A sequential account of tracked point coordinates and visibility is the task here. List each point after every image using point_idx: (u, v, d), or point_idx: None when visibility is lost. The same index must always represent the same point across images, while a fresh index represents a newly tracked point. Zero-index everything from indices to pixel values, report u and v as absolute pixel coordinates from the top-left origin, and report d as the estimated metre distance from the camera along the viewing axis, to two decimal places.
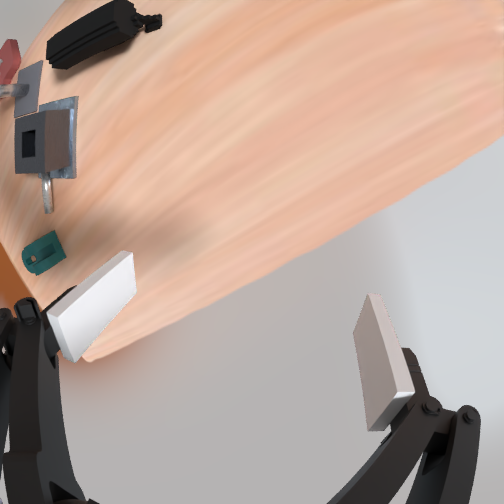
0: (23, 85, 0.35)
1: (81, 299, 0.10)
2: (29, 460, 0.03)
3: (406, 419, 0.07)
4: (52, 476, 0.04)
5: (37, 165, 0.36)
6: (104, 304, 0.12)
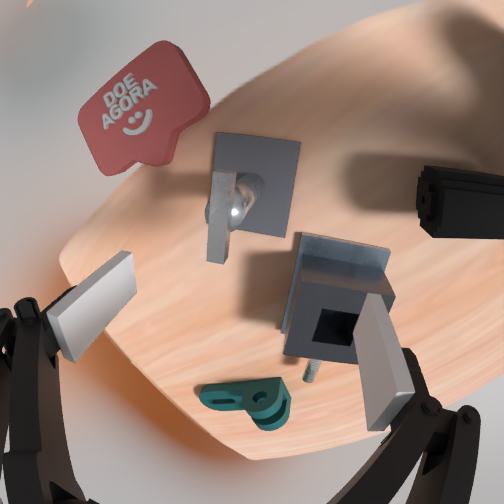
0: (260, 182, 0.31)
1: (81, 299, 0.10)
2: (29, 460, 0.03)
3: (406, 419, 0.07)
4: (52, 476, 0.04)
5: (350, 356, 0.32)
6: (104, 304, 0.12)
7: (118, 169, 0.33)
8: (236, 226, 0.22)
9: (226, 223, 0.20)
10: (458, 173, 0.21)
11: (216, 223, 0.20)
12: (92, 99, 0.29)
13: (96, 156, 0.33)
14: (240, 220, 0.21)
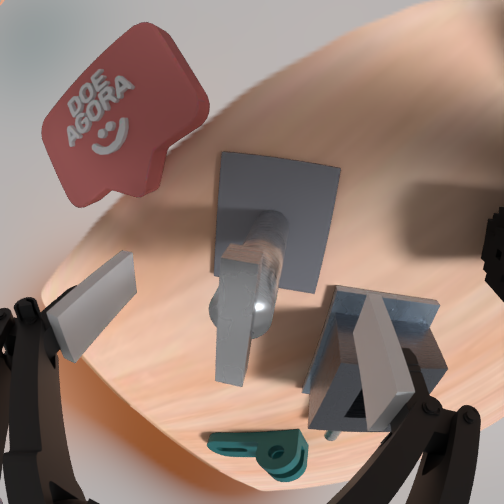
0: (285, 226, 0.22)
1: (81, 299, 0.10)
2: (29, 460, 0.03)
3: (406, 419, 0.07)
4: (52, 476, 0.04)
5: None
6: (104, 304, 0.12)
7: (90, 199, 0.24)
8: (261, 332, 0.13)
9: (247, 339, 0.12)
10: None
11: (229, 339, 0.12)
12: (56, 107, 0.21)
13: (63, 181, 0.24)
14: (268, 324, 0.13)
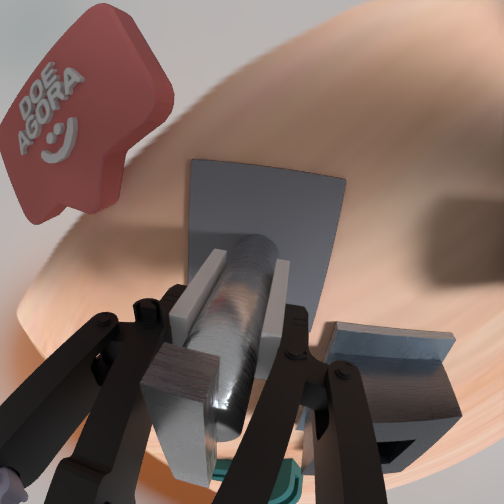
0: (273, 258, 0.17)
1: (200, 297, 0.12)
2: (91, 479, 0.04)
3: (272, 369, 0.09)
4: (110, 496, 0.04)
5: (387, 469, 0.18)
6: None
7: (44, 216, 0.19)
8: (229, 438, 0.08)
9: (204, 461, 0.06)
10: None
11: (181, 457, 0.07)
12: (10, 110, 0.15)
13: (19, 195, 0.19)
14: (238, 433, 0.08)
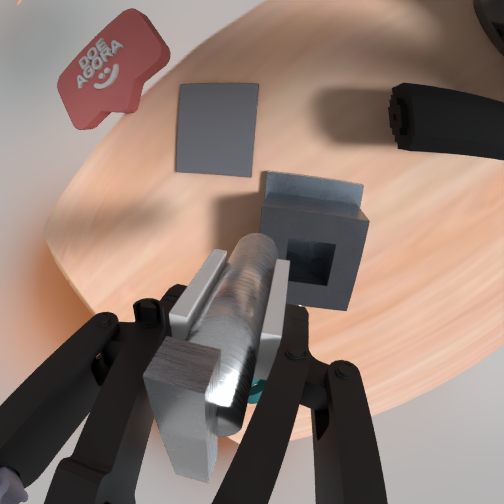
0: (273, 256, 0.17)
1: (200, 297, 0.12)
2: (91, 479, 0.04)
3: (272, 369, 0.09)
4: (110, 496, 0.04)
5: (329, 299, 0.31)
6: None
7: (89, 121, 0.32)
8: (230, 433, 0.08)
9: (205, 455, 0.07)
10: (425, 86, 0.19)
11: (182, 451, 0.07)
12: (70, 66, 0.28)
13: (71, 114, 0.31)
14: (238, 427, 0.08)
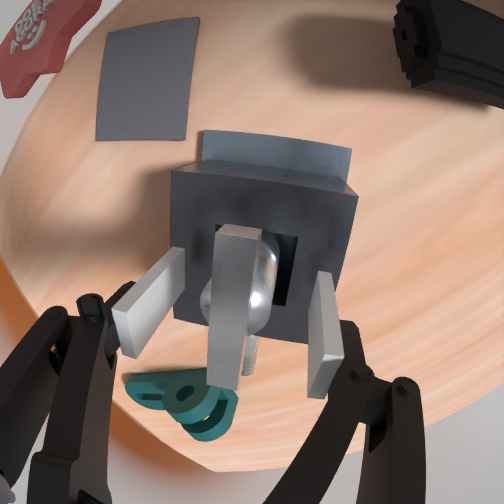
0: None
1: (145, 294, 0.12)
2: (62, 467, 0.04)
3: (335, 387, 0.08)
4: (83, 484, 0.04)
5: (289, 326, 0.19)
6: (162, 299, 0.14)
7: (15, 87, 0.19)
8: (258, 327, 0.12)
9: (243, 332, 0.10)
10: None
11: (223, 332, 0.10)
12: (9, 33, 0.16)
13: (2, 82, 0.19)
14: (266, 318, 0.12)
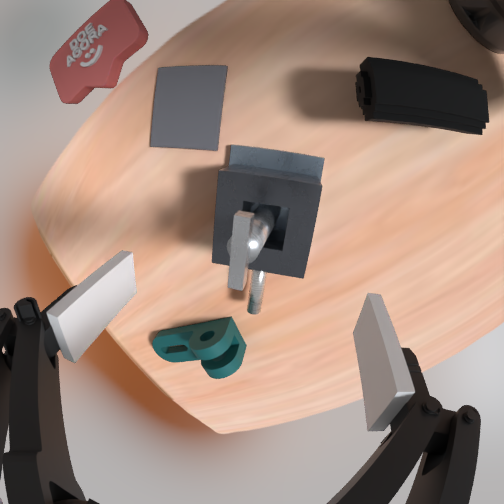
0: (277, 209, 0.35)
1: (81, 299, 0.10)
2: (29, 460, 0.03)
3: (406, 419, 0.07)
4: (52, 476, 0.04)
5: (285, 264, 0.32)
6: (104, 304, 0.12)
7: (74, 95, 0.32)
8: (253, 259, 0.25)
9: (245, 258, 0.24)
10: (389, 60, 0.21)
11: (236, 258, 0.24)
12: (61, 47, 0.28)
13: (59, 89, 0.31)
14: (257, 254, 0.25)
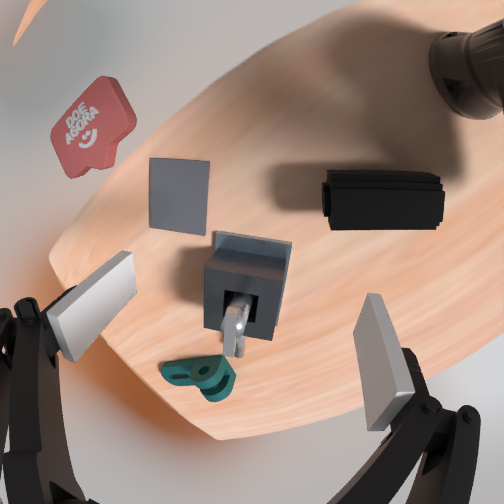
0: None
1: (81, 299, 0.10)
2: (29, 460, 0.03)
3: (406, 419, 0.07)
4: (52, 476, 0.04)
5: (257, 331, 0.42)
6: (104, 304, 0.12)
7: (77, 173, 0.42)
8: (240, 336, 0.35)
9: (234, 338, 0.33)
10: (351, 174, 0.30)
11: (228, 338, 0.33)
12: (59, 122, 0.38)
13: (63, 164, 0.41)
14: (242, 333, 0.35)
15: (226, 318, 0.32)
